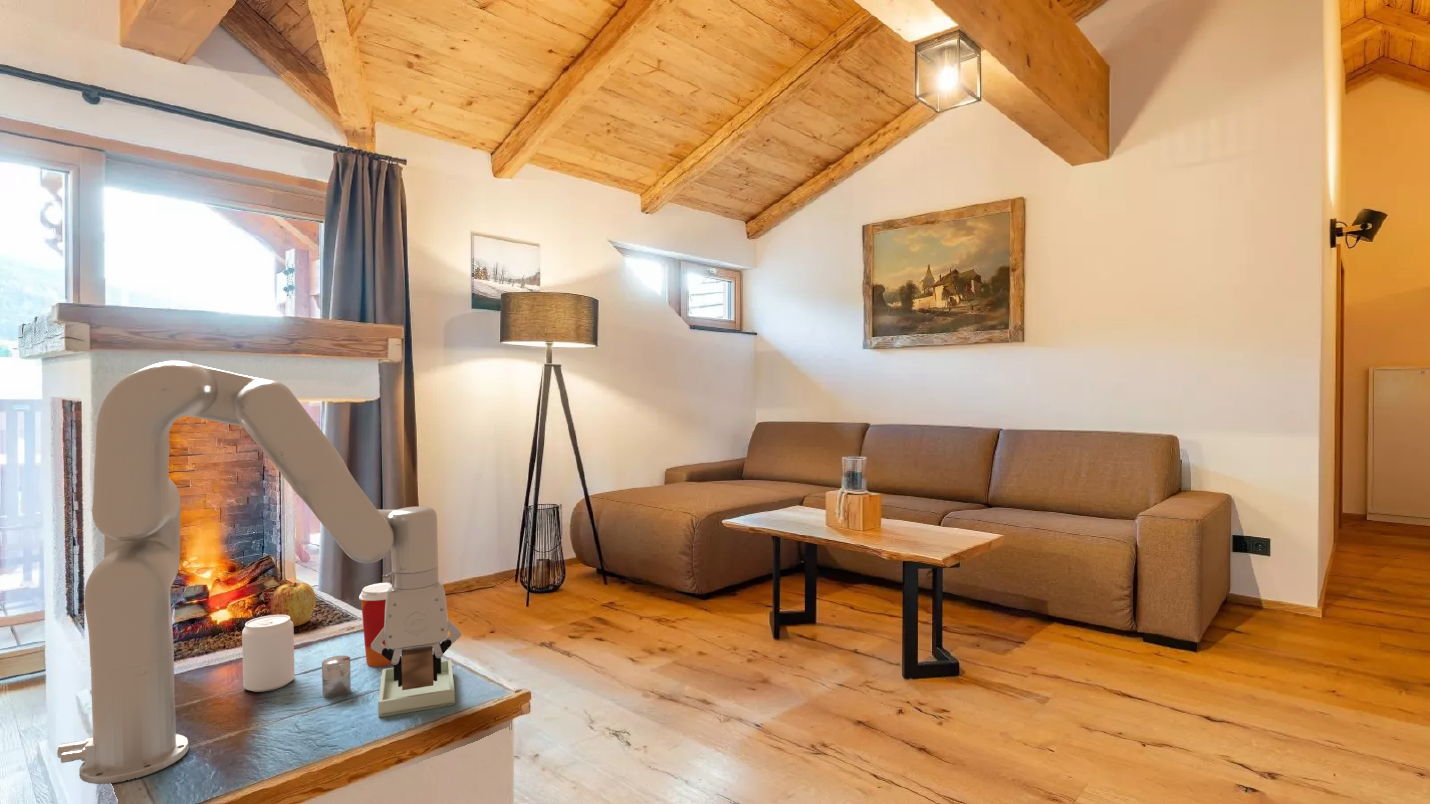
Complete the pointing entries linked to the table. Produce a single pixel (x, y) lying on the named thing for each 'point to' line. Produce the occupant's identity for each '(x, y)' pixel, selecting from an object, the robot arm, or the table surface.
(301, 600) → the apple
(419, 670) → the walnut block
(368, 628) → the coffee cup
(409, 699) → the parts tray
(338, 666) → the metal cylinder
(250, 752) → the table surface
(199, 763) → the table surface
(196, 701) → the table surface
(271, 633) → the beverage can
